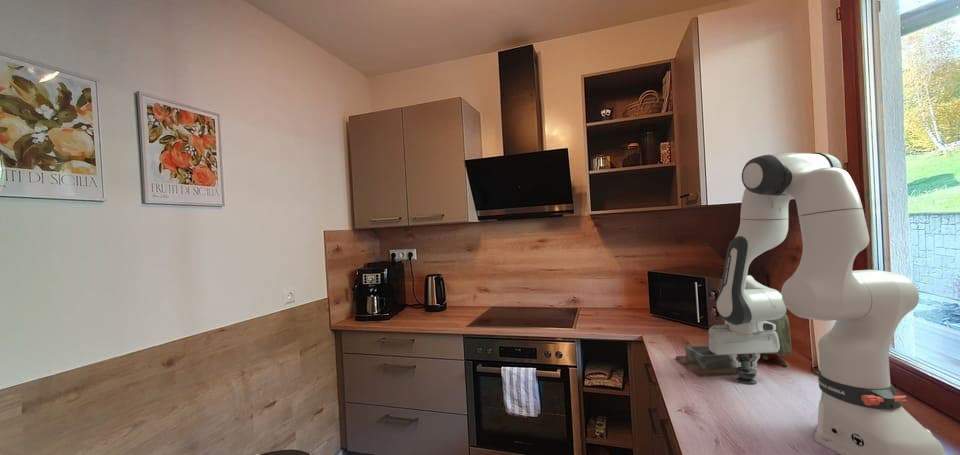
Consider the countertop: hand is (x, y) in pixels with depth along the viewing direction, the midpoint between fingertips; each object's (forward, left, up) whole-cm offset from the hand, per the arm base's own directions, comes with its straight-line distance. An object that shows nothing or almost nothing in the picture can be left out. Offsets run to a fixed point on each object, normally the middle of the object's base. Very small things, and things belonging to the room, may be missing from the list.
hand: (745, 366), depth 113 cm
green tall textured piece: (+16, -20, -5) cm, 26 cm away
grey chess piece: (0, 0, -5) cm, 5 cm away
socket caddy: (+13, +4, -5) cm, 15 cm away
